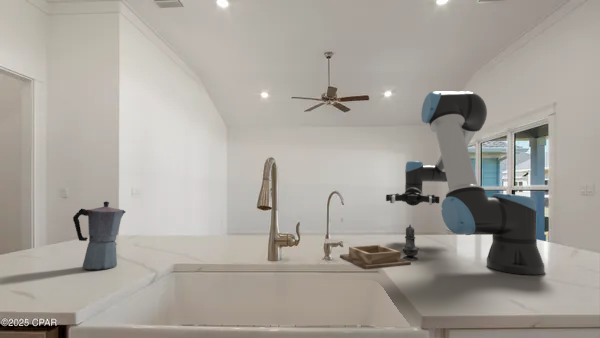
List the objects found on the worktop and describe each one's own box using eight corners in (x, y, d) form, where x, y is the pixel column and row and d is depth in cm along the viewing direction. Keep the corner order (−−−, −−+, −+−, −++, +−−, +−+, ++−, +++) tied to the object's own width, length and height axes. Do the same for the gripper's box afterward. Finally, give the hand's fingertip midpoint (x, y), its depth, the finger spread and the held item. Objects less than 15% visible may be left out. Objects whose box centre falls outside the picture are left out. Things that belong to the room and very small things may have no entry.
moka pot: (132, 263, 104) (134, 201, 105) (83, 276, 90) (86, 203, 91) (112, 260, 108) (114, 200, 109) (62, 271, 94) (65, 202, 95)
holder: (411, 264, 106) (410, 252, 106) (366, 268, 100) (366, 256, 100) (380, 253, 122) (380, 243, 122) (340, 257, 116) (340, 246, 116)
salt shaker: (420, 260, 111) (420, 225, 112) (402, 259, 112) (402, 225, 113) (417, 257, 117) (417, 223, 117) (400, 256, 118) (400, 223, 119)
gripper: (443, 206, 139) (447, 212, 119) (383, 203, 147) (377, 208, 128) (444, 188, 139) (447, 191, 119) (384, 186, 147) (377, 189, 128)
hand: (411, 200), depth 123 cm, fingers open, 13 cm apart
